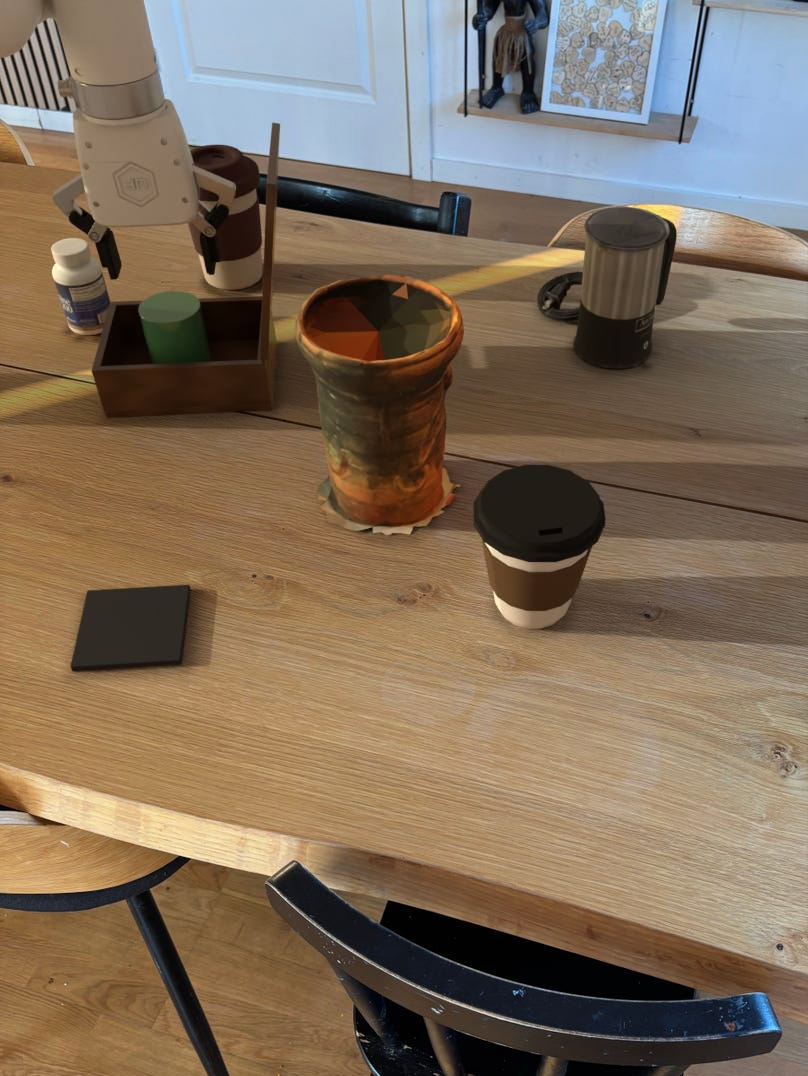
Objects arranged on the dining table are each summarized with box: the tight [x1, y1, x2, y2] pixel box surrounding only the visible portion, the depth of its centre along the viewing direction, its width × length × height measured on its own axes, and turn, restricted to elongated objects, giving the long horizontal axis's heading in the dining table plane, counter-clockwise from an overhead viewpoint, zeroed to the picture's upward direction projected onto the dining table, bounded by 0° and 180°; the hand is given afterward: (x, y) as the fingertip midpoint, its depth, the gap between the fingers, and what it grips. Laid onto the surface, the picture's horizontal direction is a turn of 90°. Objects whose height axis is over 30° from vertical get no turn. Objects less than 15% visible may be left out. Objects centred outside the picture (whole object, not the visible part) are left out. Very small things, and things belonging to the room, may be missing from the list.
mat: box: [70, 584, 191, 672], centre depth 88 cm, size 9×9×1 cm
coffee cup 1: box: [187, 144, 264, 291], centre depth 123 cm, size 10×10×15 cm
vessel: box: [294, 274, 465, 536], centre depth 93 cm, size 14×14×20 cm
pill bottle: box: [50, 237, 112, 336], centre depth 117 cm, size 5×5×10 cm
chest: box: [91, 295, 278, 418], centre depth 111 cm, size 18×14×6 cm
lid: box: [260, 122, 281, 360], centre depth 103 cm, size 18×14×1 cm
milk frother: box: [536, 206, 678, 370], centre depth 116 cm, size 14×16×15 cm
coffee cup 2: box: [472, 464, 607, 630], centre depth 87 cm, size 11×11×12 cm
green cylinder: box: [138, 290, 212, 364], centre depth 110 cm, size 6×6×8 cm
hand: (164, 270), depth 104 cm, fingers open, 9 cm apart
